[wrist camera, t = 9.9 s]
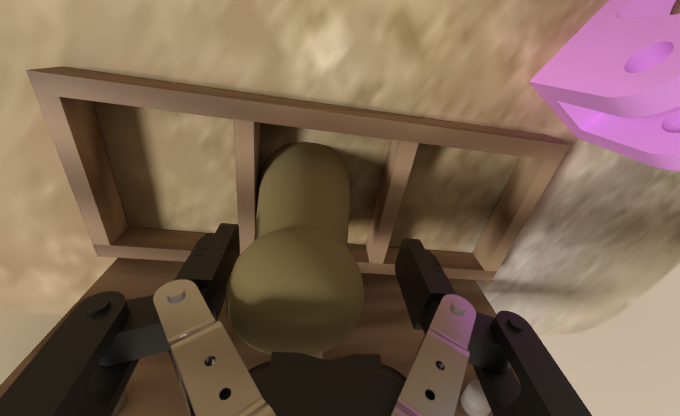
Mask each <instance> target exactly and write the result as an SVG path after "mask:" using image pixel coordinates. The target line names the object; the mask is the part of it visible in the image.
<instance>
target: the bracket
mask: <svg viewBox="0 0 680 416" xmlns="http://www.w3.org/2000/svg"><path fill="white" fill-rule="evenodd" d="M675 2H676V0H609V1H608V2H607V3H606V4H605V5H604V6H603V7H602V8H601V9H600V10H599V11H598V12H597V13H596V14H595V15H594V16H593V17H592V18H591V19H590V20H589V21H588V22H587V23H586V24H585V25H584V26H583V27H582V28H581V29H580V30H579V31H578V32H577V33H576V34H575V35H574V36H573V37H572V38H571V39H570V40H569V41H568V42H567V44H566V45H565V46H564V47H563V48H562V49H561V50H560V51H559V52H558V53H557V54H556V55H555V56H554V57H553V58H552V59H551V60H550V61H549V62H548V63H547V64H546V65H545V66H544V67H543V68H542V69H541V70H540V71H539V72H538V73H537V74H536V75H535V76H534V77H533V78H532V79H531V80H530V81H529V82H530V84H531V85H532V86H533V87H534V88H535V89H536V91H537V92H538V93H539V94H540V95H541V97H542V98H543V99H544V100H545V101H546V102H547V104H548V105H549V106H550V107H551V108H552V109H553V111H554V112H555V113H556V114H557V115H558V117H559V118H560V119H561V120H562V121H563V122H564V124H565V125H566V126H567V127H568V128H569V130H570V131H571V132H572V133H573V134H574V135H575V137H577V138H579V139H582V140H585V141H587V142H590V143H593V144H595V145H598V146H601V147H603V148H606V149H609V150H611V151H614V152H616V153H619V154H622V155H624V156H627V157H630V158H632V159H635V160H638V161H640V162H643V163H646V164H648V165H651V166H654V167H656V168H660V169H665V170H680V13H679V14H677V15H670V12H671V9H672V7H673V5H674V3H675Z"/></svg>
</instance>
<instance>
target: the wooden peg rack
mask: <svg viewBox="0 0 680 416" xmlns="http://www.w3.org/2000/svg"><path fill="white" fill-rule="evenodd" d="M26 71H27V73H28V76H29V79H30V81H31V84H32V87H33V89H34V92H35V94H36V97H37V100H38V102H39V105H40V107H41V110H42V113H43V115H44V118H45V121H46V123H47V126H48V128H49V131H50V134H51V136H52V139H53V141H54V144H55V147H56V149H57V152H58V155H59V157H60V160H61V162H62V165H63V168H64V170H65V173H66V175H67V178H68V181H69V183H70V186H71V189H72V191H73V194H74V196H75V199H76V202H77V204H78V207H79V209H80V212H81V215H82V217H83V220H84V223H85V225H86V228H87V230H88V233H89V236H90V238H91V241H92V243H93V246H94V249H95V251H96V254H97V256H102V257H118V258H117V259H116V261H115V262H114V263H113V264H112V265H111V266H110V267H109V268H108V269H107V270H106V271H105V272H104V274H103V275H102V276H101V277H100V278H99V279H98V280H97V281H96V282H95V283H94V284H93V285H92V287H91V288H90V289H89V290H88V291H87V292H86V293H85V294H84V295H83V296H82V297H81V298H80V300H79V301H78V302H77V303H76V304H75V305H74V306H73V307H72V308H71V309H70V310H69V311H68V313H67V314H66V315H65V316H64V317H63V318H62V319H61V320H60V321H59V322H58V323H57V325H56V326H55V327H54V328H53V329H52V330H51V331H50V332H49V333H48V334H47V335H46V336H45V338H44V339H43V340H42V341H41V342H40V343H39V344H38V345H37V346H36V347H35V348H34V349H33V350H32V352H31V353H30V354H29V355H28V356H27V357H26V358H25V359H24V360H23V361H22V362H21V363H20V365H19V366H18V367H17V368H16V369H15V370H14V371H13V372H12V373H11V375H9V376H8V378H7V379H6V380H5V381H4V382H3V383H2V384H1V385H0V398H1V396H2V395H3V394H4V393H5V392H6V390H7V389H8V388H9V387H10V386H11V384H12V383H13V382H14V381H15V380H16V378H17V377H18V376H19V375H20V373H21V372H22V371H23V370H24V369H25V367H26V366H27V365H28V364H29V363H30V361H31V360H32V359H33V358H34V357H35V355H36V354H37V353H38V352H39V350H40V349H41V348H42V347H43V346H44V344H45V343H46V342H47V341H48V340H49V338H50V337H51V336H52V335H53V334H54V332H55V331H56V330H57V329H58V328H59V326H60V325H61V324H62V323H63V321H64V320H65V319H66V318H67V317H68V315H69V314H70V313H71V312H72V311H73V309H74V308H75V307H76V306H77V305H78V304H79V303H80V302H81V301H83V300H84V299H86V298H88V297H90V296H92V295H94V294H97V293H101V292H106V291H116V292H120V293H122V294H123V295H124V296H125V299H126V300H130V299H135V298H140V297H146V296H150V295H153V294H155V293H156V291H157V290H158V289H159V288H160V287H161V286H163V285H164V284H166V283H169V282H171V281H174V280H175V278H176V276H177V275H178V273H179V271H180V270H181V268H182V266H183V265H184V263H185V261H186V260H187V258H188V256H190V253H191V251H192V250H193V249H194V246H195V245H196V243H197V241H198V240H199V239H200V238H201V237H203V236H204V235H206V234H207V233H197V232H184V231H170V230H157V229H144V228H131V227H128V224H127V221H126V217H125V214H124V210H123V207H122V203H121V200H120V197H119V193H118V190H117V186H116V183H115V179H114V176H113V172H112V169H111V165H110V162H109V159H108V155H107V152H106V148H105V145H104V141H103V138H102V134H101V131H100V127H99V124H98V121H97V117H96V114H95V110H94V107H93V103H92V101H96V102H104V103H112V104H120V105H128V106H135V107H143V108H151V109H159V110H166V111H174V112H182V113H190V114H198V115H205V116H213V117H221V118H229V119H234V139H235V160H236V182H237V204H238V225H239V239H240V255H241V254H242V253H243V251H244V250H245V249H246V248H247V247H248V246H249V245H250V244H252V243H253V242H254V236H255V226H256V217H257V207H258V198H259V188H260V144H261V123H267V124H275V125H283V126H291V127H299V128H306V129H314V130H322V131H330V132H337V133H345V134H353V135H361V136H368V137H376V138H384V139H391V143H390V147H389V151H388V155H387V160H386V164H385V168H384V172H383V176H382V180H381V184H380V188H379V192H378V196H377V200H376V205H375V209H374V213H373V217H372V221H371V225H370V229H369V233H368V237H367V241H366V245H354V244H347V248H348V249H349V251H350V253H351V254H352V256H353V257H354V259H355V261H356V262H357V264H358V266H359V267H360V270H361V275H362V280H363V287H364V294H365V296H364V304H363V309H362V312H361V315H360V318H359V321H358V323H357V324H356V326H355V328H354V330H353V331H352V332H351V334H350V335H349V336H348V337H347V338H346V340H345V341H343V342H342V343H340V344H339V345H337V346H336V347H334V348H332V349H330V350H327V351H325V352H322V353H319V354H316V355H312V356H314V357H317V358H321V359H324V360H331V359H335V358H339V357H343V356H347V355H352V354H380V358H381V363H382V364H385V365H387V366H390V367H392V368H393V369H395V370H397V371H398V372H400V373H401V374H403V375H404V376H405V377H406V375H407V373H408V371H409V368H410V366H411V364H412V362H413V360H414V357H415V355H416V353H417V351H418V348H419V346H420V344H421V342H422V340H423V337H424V335H425V334H424V331H423V330H414V329H413V326H412V322H411V319H410V316H409V313H408V310H407V307H406V304H405V301H404V298H403V295H402V292H401V289H400V286H399V283H398V280H397V277H396V274H395V262H396V258H397V255H398V252H399V249H400V248H394V247H388V245H389V242H390V239H391V235H392V232H393V229H394V225H395V222H396V218H397V215H398V212H399V208H400V205H401V202H402V198H403V195H404V192H405V188H406V185H407V181H408V178H409V175H410V171H411V168H412V165H413V161H414V158H415V155H416V151H417V148H418V144H419V143H423V144H431V145H438V146H446V147H454V148H462V149H470V150H477V151H485V152H493V153H501V154H508V155H516V156H521V157H520V159H519V161H518V163H517V165H516V167H515V169H514V171H513V173H512V175H511V177H510V179H509V181H508V183H507V185H506V187H505V189H504V191H503V193H502V195H501V197H500V199H499V201H498V203H497V205H496V207H495V209H494V211H493V213H492V215H491V217H490V219H489V221H488V223H487V225H486V227H485V229H484V231H483V233H482V235H481V237H480V239H479V241H478V243H477V245H476V247H475V249H474V251H473V253H460V252H446V251H433V250H429V251H430V252H431V253H432V254H433V255H434V256H435V257H437V259H438V261H439V263H440V265H441V267H442V269H443V270H444V273H445V274H446V276H447V278H448V280H449V281H450V283H451V285H452V287H453V289H454V291H455V293H456V294H457V295H458V296H460V297H463V298H464V299H466V300H467V301H468V302H470V303H471V304H472V306H473V307H474V309H475V311H476V312H479V313H482V314H485V315H488V316H491V317H496V315H497V314H496V313H495V311H494V310H493V308H492V306H491V305H490V303H489V302H488V300H487V299H486V297H485V296H484V294H483V293H482V291H481V290H480V288H479V286H478V285H477V283H476V282H475V280H484V281H492V279H493V277H494V276H495V274H496V272H497V270H498V269H499V267H500V265H501V264H502V262H503V260H504V258H505V257H506V255H507V253H508V251H509V250H510V248H511V246H512V245H513V243H514V241H515V239H516V238H517V236H518V234H519V233H520V231H521V229H522V227H523V226H524V224H525V222H526V221H527V219H528V217H529V215H530V214H531V212H532V210H533V209H534V207H535V205H536V203H537V202H538V200H539V198H540V196H541V195H542V193H543V191H544V190H545V188H546V186H547V184H548V183H549V181H550V179H551V178H552V176H553V174H554V172H555V171H556V169H557V167H558V166H559V164H560V162H561V160H562V159H563V157H564V155H565V154H566V152H567V150H568V148H569V147H570V145H569V144H566V143H564V142H561V141H559V140H557V139H554V138H552V137H549V136H547V135H541V134H534V133H527V132H520V131H513V130H506V129H499V128H492V127H485V126H478V125H470V124H463V123H456V122H449V121H442V120H435V119H428V118H421V117H414V116H407V115H400V114H393V113H386V112H379V111H371V110H364V109H357V108H350V107H343V106H336V105H329V104H322V103H315V102H308V101H301V100H294V99H287V98H279V97H272V96H265V95H258V94H251V93H244V92H237V91H230V90H223V89H216V88H209V87H202V86H195V85H188V84H180V83H173V82H166V81H159V80H152V79H145V78H138V77H131V76H124V75H117V74H110V73H103V72H96V71H89V70H81V69H74V68H67V67H53V68H43V69H33V70H26ZM218 320H220V322H221V323H222V325H223V327H224V328H225V330H226V332H227V334H228V336H229V338H230V339H231V341H232V343H233V345H234V347H235V348H236V350H237V352H238V354H239V356H240V358H241V359H242V361H243V363H244V365H245V367H246V368H247V370H249V369H251V368H253V367H255V366H257V365H259V364H262V363H264V362H268V361H271V354H267V353H264V352H262V351H259V350H257V349H255V348H253V347H251V346H249V345H248V344H246V343H245V342H244V341H243V340H242V339H241V338H239V337H238V336H237V334H236V332H235V331H234V329H233V327H232V325H231V323H230V321H229V318H228V316H227V313H226V298H225V301H224V304H223V306H222V309H221V312H220V315H219V317H218ZM511 369H512V371H513V373H514V375H515V377H516V379H517V380H518V382H519V379H518V377H517V375H516V374H515V372H514V370H513V368H512V366H511ZM519 384H520V382H519ZM520 386H521V385H520ZM112 416H190V415H189V412H188V409H187V406H186V403H185V400H184V397H183V394H182V391H181V388H180V385H179V382H178V379H177V377H176V374H175V371H174V368H173V365H172V363H171V360H170V357H169V354H168V351H167V352H163V353H159V354H155V355H151V356H147V357H144V358H140V359H139V361H138V363H137V365H136V367H135V369H134V371H133V373H132V375H131V377H130V379H129V381H128V383H127V385H126V387H125V389H124V391H123V393H122V395H121V397H120V399H119V401H118V403H117V405H116V407H115V409H114V411H113V413H112ZM454 416H493V413H492V411H491V408H490V406H489V404H488V401H487V399H486V396H485V394H484V392H483V389H482V387H481V384H480V382H479V380H478V377H477V375H476V372H475V370H474V368H473V365H472V364H469V363H467V366H466V370H465V374H464V378H463V382H462V386H461V390H460V394H459V398H458V402H457V406H456V410H455V414H454Z"/></svg>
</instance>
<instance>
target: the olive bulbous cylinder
mask: <svg viewBox="0 0 680 416" xmlns="http://www.w3.org/2000/svg"><path fill="white" fill-rule="evenodd" d="M350 193H351V182H350V174H349V171H348V169H347V167H346V165H345V163H344V161H343V160H342V159H341V158H340V157H339V156H338V155H337V154H336V153H335V152H334V151H332V150H330V149H328V148H326V147H324V146H322V145H320V144H315V143H308V142H300V143H294V144H288V145H286V146H285V147H283V148H281V149H279V150H277V151H275V152H274V153H273V155H272V156H271V157H270V158H269V159H268V160H267V161H266V163H265V165H264V168H263V170H262V173H261V179H260V188H259V198H258V207H257V217H256V226H255V236H254V242H253V243H252V244H250V245H249V246H248V247H247V248H246V249H245V250H244V251H243V253H242V254H241V255H240V256H239V257H238V258H237V261H236V263H235V265H234V267H233V270H232V272H231V274H230V277H229V279H228V282H227V284H226V313H227V316H228V318H229V321H230V323H231V325H232V327H233V329H234V331H235V332H236V334H237V336H238V337H239V338H241V339H242V340H243V341H244V342H245V343H246V344H248V345H249V346H251V347H253V348H255V349H257V350H259V351H262V352H264V353H267V354H271V355H272V352H300V353H303V354H307V355H310V356H312V355H316V354H319V353H322V352H325V351H327V350H330V349H332V348H334V347H336V346H337V345H339V344H340V343H342V342H343V341H345V340H346V338H347V337H348V336H349V335H350V334H351V332H352V331H353V330H354V328H355V326H356V324H357V323H358V321H359V318H360V315H361V312H362V309H363V304H364V296H365V294H364V287H363V280H362V275H361V270H360V267H359V266H358V264H357V262H356V261H355V259H354V257H353V256H352V254H351V253H350V251H349V249H348V248H347V239H348V224H349V208H350Z"/></svg>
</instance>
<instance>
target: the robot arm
mask: <svg viewBox="0 0 680 416" xmlns="http://www.w3.org/2000/svg"><path fill="white" fill-rule="evenodd" d="M239 256H240V239H239V225H238V224H227V223H221V224H220V225H219V227H218V229H217V231H216V233H207V234H206V235H204V236H203V237H201V238H200V239H199V240H198V241H197V243H196V245H195V246H194V249H193V250H192V251H191V253H190V256H188V258H187V260H186V261H185V263H184V265H183V266H182V268H181V270H180V271H179V273H178V275H177V276H176V278H175V280H174V281H171V282H169V283H166V284H164V285H163V286H161V287H160V288H159V289H158V290H157V291H156V293H155V294H153V295H150V296H146V297H140V298H135V299H130V300H126V299H125V296H124V295H123V294H122V293H120V292H116V291H106V292H101V293H97V294H94V295H92V296H90V297H88V298H86V299H84V300H83V301H81V302H80V303H79V304H78V305H77V306H76V307H75V308H74V309H73V311H72V312H71V313H70V314H69V315H68V317H67V318H66V319H65V320H64V321H63V323H62V324H61V325H60V326H59V328H58V329H57V330H56V331H55V332H54V334H53V335H52V336H51V337H50V338H49V340H48V341H47V342H46V343H45V344H44V346H43V347H42V348H41V349H40V350H39V352H38V353H37V354H36V355H35V357H34V358H33V359H32V360H31V361H30V363H29V364H28V365H27V366H26V367H25V369H24V370H23V371H22V372H21V373H20V375H19V376H18V377H17V378H16V380H15V381H14V382H13V383H12V384H11V386H10V387H9V388H8V389H7V390H6V392H5V393H4V394H3V395H2V396H1V398H0V416H112V413H113V411H114V409H115V407H116V405H117V403H118V401H119V399H120V397H121V395H122V393H123V391H124V389H125V387H126V385H127V383H128V381H129V379H130V377H131V375H132V373H133V371H134V369H135V367H136V365H137V363H138V361H139V359H140V358H144V357H147V356H151V355H155V354H159V353H163V352H167V351H168V354H169V357H170V360H171V363H172V365H173V368H174V371H175V374H176V377H177V379H178V382H179V385H180V388H181V391H182V394H183V397H184V400H185V403H186V406H187V409H188V412H189V415H190V416H454V414H455V410H456V406H457V402H458V398H459V394H460V390H461V386H462V382H463V378H464V374H465V370H466V366H467V363H469V364H472V365H473V368H474V370H475V372H476V375H477V377H478V380H479V382H480V384H481V387H482V389H483V392H484V394H485V396H486V399H487V401H488V404H489V406H490V408H491V411H492V413H493V416H592V415H591V413H590V412H589V411H588V409H587V408H586V406H585V405H584V404H583V402H582V400H581V399H580V397H579V396H578V395H577V393H576V391H575V390H574V389H573V387H572V386H571V384H570V383H569V381H568V380H567V378H566V377H565V375H564V374H563V372H562V371H561V370H560V368H559V367H558V365H557V364H556V362H555V361H554V359H553V358H552V356H551V355H550V353H549V352H548V351H547V349H546V347H545V346H544V345H543V343H542V342H541V340H540V339H539V337H538V336H537V334H536V333H535V331H534V330H533V328H532V327H531V326H530V324H529V323H528V322H527V321H526V320H525V319H523V318H522V317H521V316H519V315H517V314H515V313H513V312H510V311H500V312H499V313H498V314H497V315H496V317H491V316H488V315H485V314H482V313H479V312H476V311H475V309H474V307H473V306H472V304H471V303H470V302H468V301H467V300H466V299H464V298H463V297H460V296H458V295H457V294H456V293H455V291H454V289H453V287H452V285H451V283H450V281H449V280H448V278H447V276H446V274H445V273H444V270H443V269H442V267H441V265H440V263H439V261H438V259H437V257H435V256H434V255H433V254H432V253H431V252H430V251H429V250H425V249H424V247H423V245H422V243H421V241H420V240H418V239H406V238H404V239H403V241H402V243H401V246H400V249H399V252H398V255H397V258H396V262H395V274H396V277H397V280H398V283H399V286H400V289H401V292H402V295H403V298H404V301H405V304H406V307H407V310H408V313H409V316H410V319H411V322H412V326H413V329H414V330H423V331H424V334H425V335H424V337H423V340H422V342H421V344H420V346H419V348H418V351H417V353H416V355H415V357H414V360H413V362H412V364H411V366H410V368H409V371H408V373H407V375H406V377H405V376H404V375H403V374H401V373H400V372H398V371H397V370H395V369H393V368H392V367H390V366H387V365H385V364H382V363H381V358H380V354H352V355H347V356H343V357H339V358H335V359H331V360H324V359H321V358H317V357H314V356H310V355H307V354H303V353H300V352H272V355H271V361H268V362H264V363H262V364H259V365H257V366H255V367H253V368H251V369H249V370H247V368H246V367H245V365H244V363H243V361H242V359H241V358H240V356H239V354H238V352H237V350H236V348H235V347H234V345H233V343H232V341H231V339H230V338H229V336H228V334H227V332H226V330H225V328H224V327H223V325H222V323H221V322H220V320H218V317H219V315H220V312H221V309H222V306H223V304H224V301H225V298H226V284H227V282H228V279H229V277H230V274H231V272H232V270H233V267H234V265H235V263H236V261H237V258H238V257H239ZM511 366H512V368H513V370H514V372H515V374H516V375H517V377H518V379H519V382H520V384H519V382H518V380H517V379H516V377H515V375H514V373H513V371H512V369H511ZM520 385H521V386H520Z"/></svg>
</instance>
